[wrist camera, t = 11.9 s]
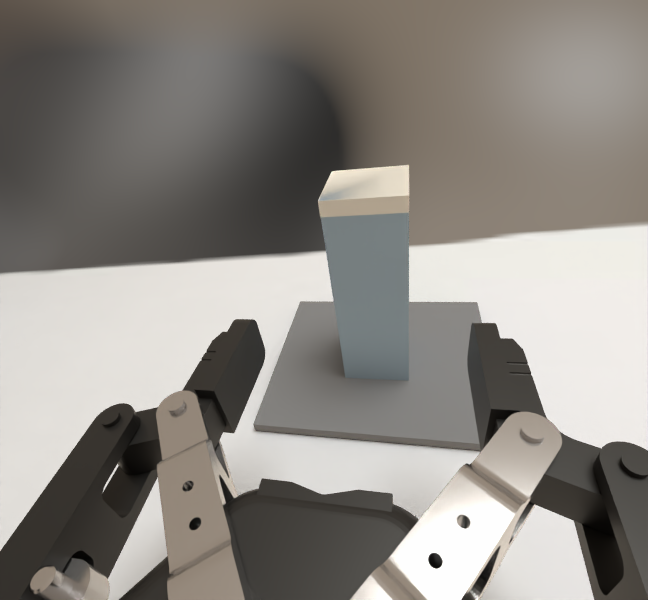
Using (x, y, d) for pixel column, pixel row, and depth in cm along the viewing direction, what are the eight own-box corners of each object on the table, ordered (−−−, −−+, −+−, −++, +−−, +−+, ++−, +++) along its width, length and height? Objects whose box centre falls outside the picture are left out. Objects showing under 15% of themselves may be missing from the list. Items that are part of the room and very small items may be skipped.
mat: (255, 430, 22) (253, 424, 22) (301, 307, 32) (300, 301, 31) (507, 452, 19) (509, 446, 19) (476, 308, 28) (477, 302, 28)
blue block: (345, 377, 24) (318, 201, 17) (352, 335, 27) (331, 171, 20) (409, 380, 23) (409, 195, 16) (408, 336, 26) (408, 165, 19)
